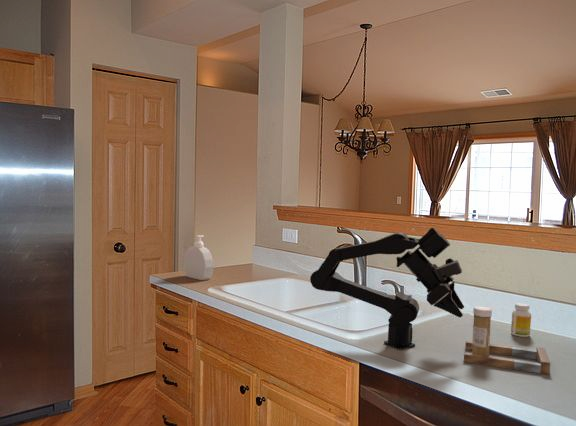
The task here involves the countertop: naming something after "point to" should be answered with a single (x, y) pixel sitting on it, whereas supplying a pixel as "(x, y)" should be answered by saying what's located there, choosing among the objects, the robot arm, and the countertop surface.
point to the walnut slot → (539, 354)
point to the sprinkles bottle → (481, 330)
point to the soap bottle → (198, 261)
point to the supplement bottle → (521, 320)
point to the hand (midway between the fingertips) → (462, 312)
